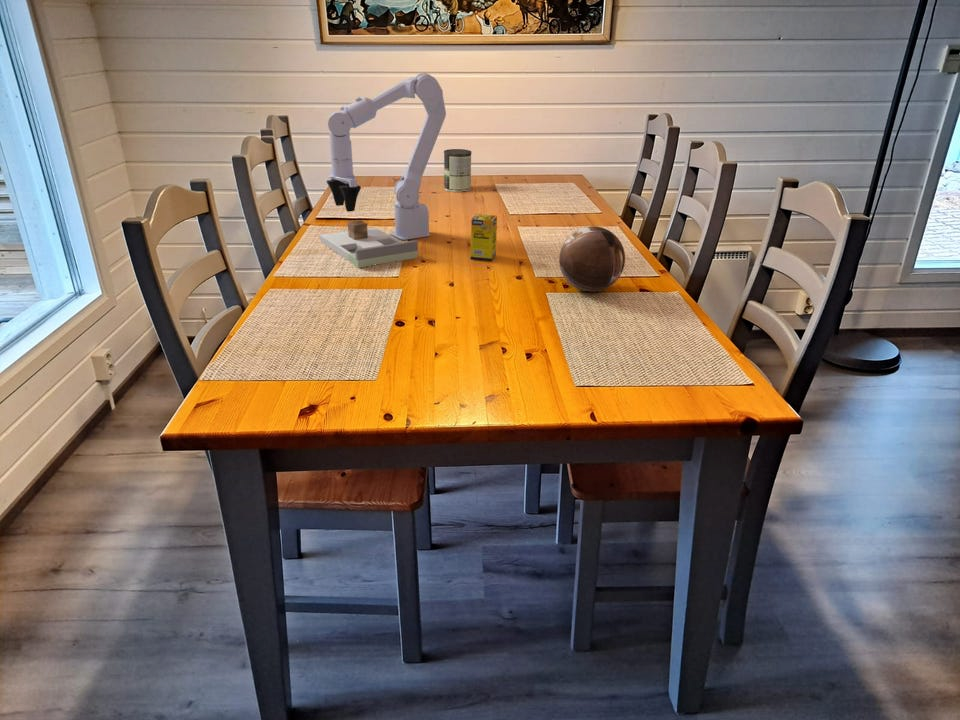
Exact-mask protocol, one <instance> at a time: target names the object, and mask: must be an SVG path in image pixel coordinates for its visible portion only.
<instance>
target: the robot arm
mask: <svg viewBox="0 0 960 720" xmlns="http://www.w3.org/2000/svg"><path fill="white" fill-rule="evenodd" d="M416 96H417V97H418V98H419V100H420V101H421V102H422V105H423V107H424V109H425V112H426V117H425V119H424V122H423V124H422V127H421V130H420V132H419V134H418V137H417V140H416V143H415V145H414V147H413V150H412V153H411V156H410V159H409V161H408V163H407V166H406V168H405V170H404V171H403V174H402V176H401V178H400V179H399V180H398V181H397V182H396V183H395V186H394V193H395V195H396V201H395V202H394V204H393V206H394V231H390V232H389V235H390V236H392V237H394V238H396V239H398V240H400V241H405V240H406V241H407V240H412V239H417V238H419V239H420V238H425V237H430V236H431V234H430V214H429V209H428V207H427V205H426V204H424V203H420V201H419V200H420V193H419V190H420V188H421V184H422V180H423V179H422V178H423V175H424V172H425V171H426V167H427V165H428V163H429V159H430V157H431V155H432V152H433V149H434V147H435V144H436V142H437V139H438V137H439V134H440V132H441V129H442V126H443V123H444V122H445V119H446V116H447V113H446V106H445V99H444V93H443V89H442V87H441V85H440V83H439V82H438V80H437V78H436V77H435V76H432V75H431V74H428V73H426V72H424V73H423V72H422V73H418V74H417V75H416V76H412V77H409V78H407V79H405V80H402V81H399V82H398V83H396V84H395V85H393V86H392V87H390V88H388V89H386V90H384V91H383V92H381V93H380V94H377V95H376V96H375V97H373V98H369V97H366V96H363V97H360V96H358V97H356V98H355V101H354V102H352V103H350V104H349V105H346V106H345V107H344V106H341V107H340V108H339V109H340V111H337V110H336V111H333V112H332V113H331V114H330V115H329V117H328V119H327V121H328V122H327V127H328V130H329V139H330V141H329V150H330V151H329V152H330V162H331V163H330V164H331V170H329V175H328V176H327V177H328V180H326V184H327V185H328V187H329V189H330V191H331V195H332V197H333V200H334V203H335V206H337V207H338V206H339V207H340V206H344V207H345V211H346V212H347V213H349V212H355V210H356V205H357V198H358V196H359V193H360V191H361V189H362V187H361V186H360V185H358V179H356V177H355V174H354V166H353V151H352V150H353V149H352V141H351V138H350V131H351V129H352V128H353V129H356V128H358V127H360V126H362V125H364V124H366V123H367V122H369V121H371V120H372V119H375V118H376V116H377V112H378V111H379V110H381V109H383V108H385V107H387V106H388V105H391V104H393V103H395V102H397V101H399V100H401V99H403V98H405V99H407V98H408V99H416Z"/></svg>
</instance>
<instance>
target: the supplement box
mask: <svg viewBox="0 0 960 720" xmlns="http://www.w3.org/2000/svg"><path fill="white" fill-rule="evenodd" d="M470 221H471V223H470V260H472V259H475V260H474V261H483V260H487V261H486V262H493V259H494V258H495V257H496V253H497V233H498V231H497V230H498V229H497V227H498V215H495V214H493V215H492V214H482V213H477V214H476V213H475V215H474V216H473V217H472V218H471V219H470ZM493 257H494V258H493Z"/></svg>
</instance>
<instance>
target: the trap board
mask: <svg viewBox="0 0 960 720" xmlns="http://www.w3.org/2000/svg"><path fill="white" fill-rule="evenodd" d="M367 232H368V238H364V239H357V240H354V239H352V238H350V237H349V236H348V230H346V231H340V232H332V233H325V234H324V233H323V234H319V241H320V243H321V242H322V243H323V245H324V244H325V245H326V246H325V245H324V246H325V247H327V246H328V247H329V248H328V247H327V248H328V249H330V248H331V249H332V250H331V249H330V250H331V251H333V250H334V251H335V252H334V251H333V252H334V253H336V252H337V253H338V254H337V253H336V254H337V255H339V254H340V255H341V256H342V257H341V256H340V255H339V256H340V257H341V258H343V257H344V258H345V260H346V259H347V260H348V261H347V260H346V261H347V262H349V261H350V262H351V263H350V262H349V263H350V264H352V265H353V264H354V265H353V266H355V267H356V268H357V269H361V267H362V268H366V266H368V267H372V266H371V265H373V266H376V265H375V264H379V265H382V264H381V263H385V264H389V263H388V262H391V263H396V262H395V261H397V262H401V261H407V260H408V261H409V260H413V259H414V260H415V259H418V258H419V249H418V248H419V246H418V244H419V243H418V242H419V241H417V240H416V239H414V240H409V241H407V240H406V241H402V240H400V239H398V238H397V237H395V236H393V235H391V234H389V233H386V232H385V231H383V230H381V229H379V228H378V227H370V228H369V227H367ZM322 243H321V244H322ZM344 258H343V259H344Z"/></svg>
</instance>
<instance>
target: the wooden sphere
mask: <svg viewBox="0 0 960 720" xmlns="http://www.w3.org/2000/svg"><path fill="white" fill-rule="evenodd" d="M558 261H559V269H560V271H561V274H562V277H563V278H564V280H565V281H566V282H567V283H568V284H569V285H570V286H572V287H574V288H575V289H577V290H579V291H581V290H584V291H583V292H585V291H598V292H601V291H604V290H606V289H608V288H610V287H612V286H613V285H614V284H615V283H616V282H617V281H618V280H619V279H620V276H621V275H622V274H623V271H624V268H625V264H626V253H625V249H624V247H623V244H622V242H621V240H620V239H619V237H617V235H616V234H615V233H613V232H612V231H610V230H609V229H606V228H604V227H601V226H585V227H582V228H580V229H578V230H575V231H574V232H573V233H571V234H570V235H569V236H568V237H567V238H566V239H565V240H564V242H563V244H562V246H561V249H560V251H559V255H558ZM600 290H601V291H600Z"/></svg>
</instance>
